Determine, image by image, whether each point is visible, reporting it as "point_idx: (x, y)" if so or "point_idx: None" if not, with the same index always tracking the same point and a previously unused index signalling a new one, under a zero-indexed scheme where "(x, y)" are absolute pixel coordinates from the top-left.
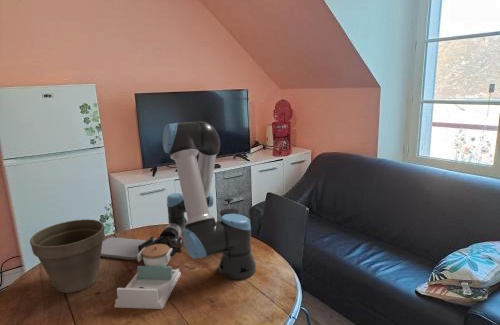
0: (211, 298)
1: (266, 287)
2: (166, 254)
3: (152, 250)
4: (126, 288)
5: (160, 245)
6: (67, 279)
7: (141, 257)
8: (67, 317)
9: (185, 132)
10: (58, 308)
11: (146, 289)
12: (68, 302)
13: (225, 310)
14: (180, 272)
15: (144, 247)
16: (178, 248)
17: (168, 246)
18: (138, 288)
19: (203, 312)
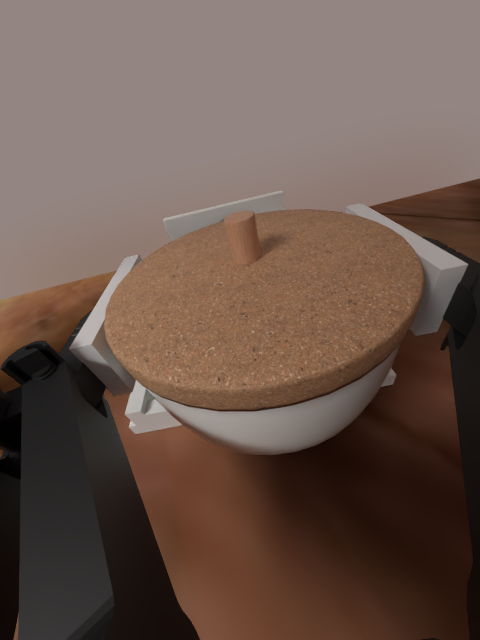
0: (40, 330)
1: None
2: (133, 263)
3: (270, 240)
4: (255, 198)
5: (238, 324)
6: None
7: None
8: (375, 208)
9: None
10: (438, 207)
11: (193, 212)
12: (446, 218)
13: (24, 308)
14: (130, 423)
15: (455, 265)
16: (2, 392)
17: (115, 344)
18: (219, 207)
19: (77, 292)
